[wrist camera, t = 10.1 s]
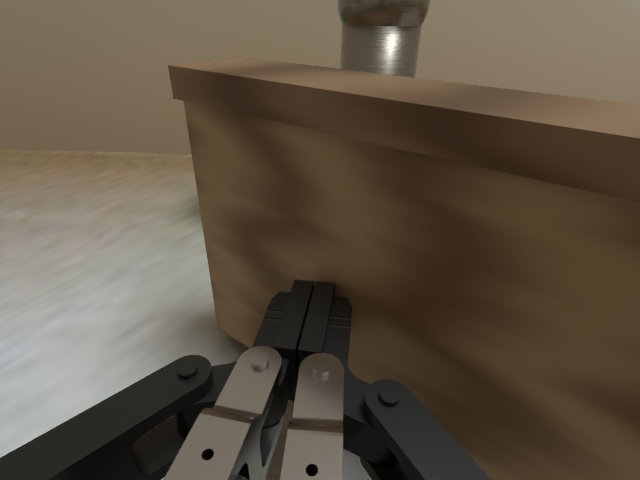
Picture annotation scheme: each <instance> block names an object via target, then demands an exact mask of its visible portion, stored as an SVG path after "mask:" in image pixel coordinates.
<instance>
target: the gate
mask: <svg viewBox="0 0 640 480" xmlns="http://www.w3.org/2000/svg"><path fill="white" fill-rule="evenodd" d="M168 68H169V74H170V80H171V86H172V92H173V98H174V99H178V100H183V101H184V107H185V113H186V119H187V126H188V133H189V140H190V146H191V153H192V159H193V166H194V173H195V179H196V186H197V192H198V199H199V206H200V212H201V219H202V225H203V232H204V239H205V245H206V252H207V258H208V265H209V272H210V278H211V285H212V291H213V298H214V305H215V311H216V318H217V324H218V329H220V330H221V331H223V332H225V333H226V334H228V335H229V336H231V337H232V338H234V339H235V340H237V341H239V342H240V343H242V344H243V345H245V346H246V347H248V348H249V349H250V348H252V346H253V343H254V341H255V338H256V336H257V333H258V331H259V328H260V326H261V323H262V321H263V319H264V316H265V313H266V311H267V308H268V305H269V303H270V300H271V299H272V298H273V297H274V296H275V295H276V294H277V293H278V292H279V291H283V292H290V291H291V288H292V286H293V283H294V280H295V279H298V280H308V281H314V282H315V283H316V281H319V282H330V283H335V297H344V298H348V300H349V302H350V304H351V306H352V319H351V334H350V345H349V354H348V363H347V366H348V368H349V370H350V371H351V373H352V374H353V375H354V376H356V377H357V378H359V379H360V380H362V381H365V382H367V383H370V384H372V383H373V382H375V381H377V380H381V379H391V380H395V381H398V382H400V383H402V384H403V385H404V386H406V387H407V388H408V389H409V390H410V391H411V392H412V394H413V395H414V396H415V397H416V398H417V399H418V400H419V401H420V402H421V403H422V404H423V406H424V407H425V408H426V409H427V410H428V411H429V412H430V413H431V414H432V415H433V416H434V417H435V419H436V420H437V421H438V422H439V423H440V424H441V425H442V426H443V427H444V428H445V429H446V431H447V432H448V433H449V434H450V435H451V436H452V437H453V438H454V439H455V440H456V441H457V443H458V444H459V445H460V446H461V447H462V448H463V449H464V450H465V451H466V452H467V453H468V454H469V456H470V457H471V458H472V459H473V460H474V461H475V462H476V463H477V464H478V465H479V466H480V468H481V469H482V470H483V471H484V472H485V473H486V474H487V475H488V476H489V477H490V478H491V480H640V105H635V104H627V103H619V102H610V101H602V100H594V99H585V98H577V97H569V96H560V95H552V94H544V93H535V92H527V91H518V90H510V89H502V88H493V87H485V86H477V85H469V84H460V83H452V82H443V81H435V80H427V79H419V78H410V77H402V76H394V75H385V74H377V73H369V72H360V71H352V70H344V69H335V68H326V67H319V66H311V65H302V64H293V63H286V62H277V61H268V60H260V59H252V58H243V57H236V58H227V59H217V60H209V61H200V62H191V63H182V64H174V65H168Z"/></svg>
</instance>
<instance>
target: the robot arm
mask: <svg viewBox="0 0 640 480" xmlns="http://www.w3.org/2000/svg"><path fill="white" fill-rule="evenodd" d="M351 319H352V306H351V304H350V302H349V300H348V298H344V297H335V283H330V282H319V281H316V283H315V282H314V281H308V280H298V279H295V280H294V283H293V286H292V288H291V291H290V292H283V291H279V292H278V293H277V294H276V295H275V296H274V297H273V298H272V299H271V300H270V303H269V305H268V308H267V311H266V313H265V316H264V319H263V321H262V323H261V326H260V328H259V331H258V333H257V336H256V338H255V341H254V343H253V346H252V348H250V349H248V350H246V351H245V352H244V353H243V354H242V355H241V356H240V357H239V359H238V361H236V362H233V363H230V364H224V365H218V366H211V364H210V362H209V361H208V360H207V359H206V358H204V357H202V356H199V355H189V356H184V357H182V358H179V359H177V360H175V361H174V362H172V363H170V364H168V365H166V366H165V367H163V368H161V369H159V370H157V371H156V372H154V373H152V374H150V375H149V376H147V377H145V378H143V379H141V380H140V381H138V382H136V383H134V384H132V385H131V386H129V387H127V388H125V389H123V390H122V391H120V392H118V393H116V394H114V395H113V396H111V397H109V398H107V399H105V400H104V401H102V402H100V403H98V404H96V405H95V406H93V407H91V408H89V409H87V410H86V411H84V412H82V413H80V414H78V415H77V416H75V417H73V418H71V419H69V420H68V421H66V422H64V423H62V424H60V425H59V426H57V427H55V428H53V429H51V430H50V431H48V432H46V433H44V434H42V435H41V436H39V437H37V438H35V439H33V440H32V441H30V442H28V443H26V444H25V445H23V446H21V447H19V448H17V449H16V450H14V451H12V452H10V453H8V454H7V455H5V456H3V457H1V458H0V480H161V479H163V478H164V477H165V478H164V480H265V479H266V474H267V471H268V468H269V465H270V462H271V459H272V456H273V453H274V450H275V447H276V444H277V441H278V438H279V435H280V432H281V429H282V426H283V423H284V413H285V410H286V407H287V403H288V400H295V401H294V408H293V415H292V421H291V422H289V425H288V430H287V437H286V443H285V450H284V456H283V463H282V469H281V476H280V480H342V467H343V448H344V449H346V450H348V451H350V452H352V453H354V454H356V455H357V456H359V457H360V461H361V463H362V465H363V467H364V468H365V470H366V471H367V473H368V474H369V476H370V477H371V479H372V480H491V478H490V477H489V476H488V475H487V474H486V473H485V472H484V471H483V470H482V469H481V468H480V466H479V465H478V464H477V463H476V462H475V461H474V460H473V459H472V458H471V457H470V456H469V454H468V453H467V452H466V451H465V450H464V449H463V448H462V447H461V446H460V445H459V444H458V443H457V441H456V440H455V439H454V438H453V437H452V436H451V435H450V434H449V433H448V432H447V431H446V429H445V428H444V427H443V426H442V425H441V424H440V423H439V422H438V421H437V420H436V419H435V417H434V416H433V415H432V414H431V413H430V412H429V411H428V410H427V409H426V408H425V407H424V406H423V404H422V403H421V402H420V401H419V400H418V399H417V398H416V397H415V396H414V395H413V394H412V392H411V391H410V390H409V389H408V388H407V387H406V386H404V385H403V384H402V383H400V382H398V381H395V380H391V379H381V380H377V381H375V382H373V383H372V384H370V383H367V382H365V381H362V380H360V379H359V378H357V377H356V376H354V375H353V374H352V373H351V371H350V370H349V368H348V366H347V363H348V354H349V345H350V334H351ZM167 419H168V420H167ZM164 421H165V422H164ZM153 428H154V429H153ZM150 430H151V431H150Z"/></svg>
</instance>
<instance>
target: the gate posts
mask: <svg viewBox="0 0 640 480" xmlns="http://www.w3.org/2000/svg"><path fill="white" fill-rule="evenodd" d="M429 4H430V0H338V11H339V16H340V20H341V22H342V40H341V41H342V42H341V67H340V69H344V70H352V71H360V72H369V73H377V74H385V75H394V76H402V77H410V78H415V72H416V65H417V57H418V48H419V41H420V32H421V25H422V23H423V22H424V20H425V17H426V15H427V12H428V9H429Z"/></svg>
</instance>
